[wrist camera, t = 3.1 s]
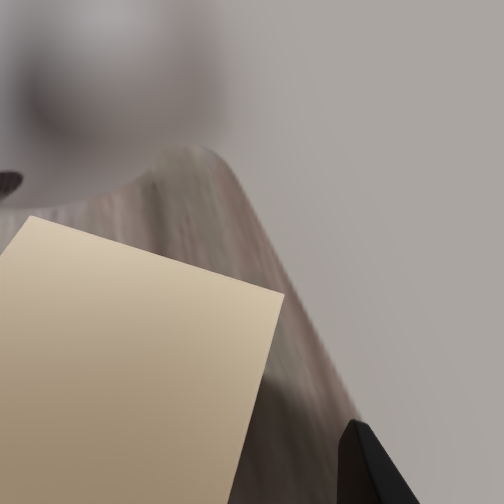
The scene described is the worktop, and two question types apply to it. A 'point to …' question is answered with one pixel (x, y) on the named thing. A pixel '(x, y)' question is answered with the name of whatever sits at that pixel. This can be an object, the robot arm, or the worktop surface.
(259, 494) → the worktop surface
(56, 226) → the cream block
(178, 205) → the worktop surface
